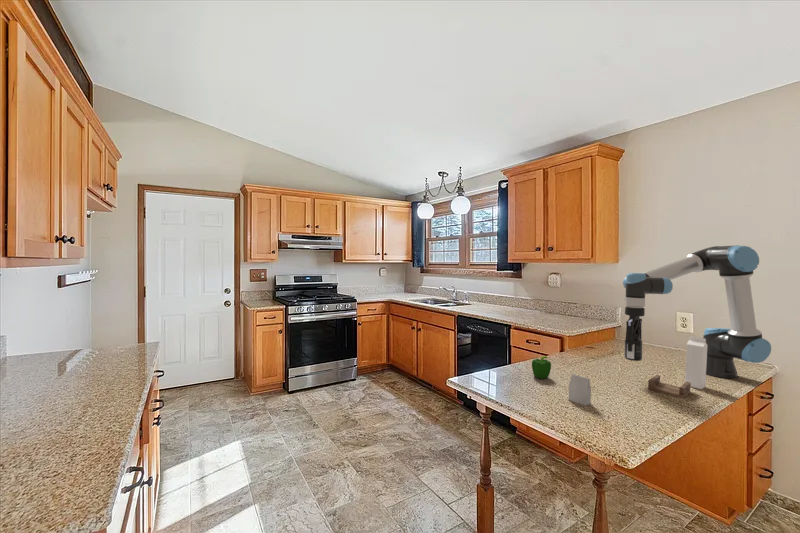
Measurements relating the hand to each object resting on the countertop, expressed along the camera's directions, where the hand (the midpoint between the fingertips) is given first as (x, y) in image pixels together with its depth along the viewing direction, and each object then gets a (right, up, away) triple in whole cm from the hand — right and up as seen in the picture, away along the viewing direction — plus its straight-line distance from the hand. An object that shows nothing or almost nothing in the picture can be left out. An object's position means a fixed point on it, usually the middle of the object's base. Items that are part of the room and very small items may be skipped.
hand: (633, 356), depth 167 cm
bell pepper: (-41, -11, +3) cm, 42 cm away
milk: (+26, -13, -3) cm, 29 cm away
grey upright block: (-37, -12, -25) cm, 46 cm away
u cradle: (+9, -12, -10) cm, 18 cm away
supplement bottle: (0, -1, 0) cm, 1 cm away
